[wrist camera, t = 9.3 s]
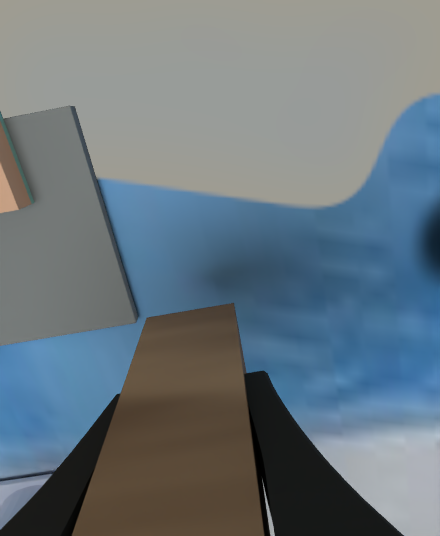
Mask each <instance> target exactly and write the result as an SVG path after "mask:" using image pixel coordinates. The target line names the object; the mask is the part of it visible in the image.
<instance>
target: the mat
mask: <svg viewBox="0 0 440 536" xmlns="http://www.w3.org/2000/svg"><path fill="white" fill-rule="evenodd" d="M3 120H4V122H5V125H6V128H7V130H8V133H9V136H10V138H11V141H12V144H13V146H14V149H15V152H16V154H17V157H18V160H19V162H20V165H21V168H22V170H23V173H24V176H25V178H26V181H27V184H28V186H29V189H30V192H31V194H32V197H33V200H34V202H35V203H33V204H31V205H28V206H26V207H24V208H22V209H19V210H14V211H9V212H3V213H0V346H2V345H8V344H14V343H19V342H25V341H31V340H37V339H43V338H49V337H55V336H61V335H67V334H73V333H79V332H85V331H91V330H97V329H103V328H109V327H115V326H121V325H127V324H133V323H136V322H137V319H138V315H137V312H136V309H135V305H134V302H133V299H132V295H131V292H130V289H129V285H128V282H127V279H126V275H125V272H124V269H123V265H122V262H121V259H120V255H119V252H118V249H117V245H116V242H115V239H114V235H113V232H112V229H111V226H110V222H109V219H108V216H107V212H106V209H105V206H104V202H103V199H102V196H101V192H100V189H99V186H98V182H97V179H96V176H95V172H94V169H93V166H92V163H91V159H90V156H89V153H88V149H87V146H86V143H85V139H84V136H83V133H82V129H81V126H80V123H79V119H78V116H77V113H76V109H75V107H74V106H66V107H61V108H56V109H52V110H46V111H41V112H35V113H30V114H25V115H20V116H15V117H10V118H5V119H3Z"/></svg>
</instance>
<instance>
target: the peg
mask: <svg viewBox="0 0 440 536" xmlns="http://www.w3.org/2000/svg"><path fill="white" fill-rule="evenodd" d="M244 374H246V368H245V362H244V357H243V351H242V346H241V340H240V335H239V329H238V324H237V318H236V313H235V307H234V303H231V304H225V305H219V306H213V307H207V308H201V309H195V310H190V311H184V312H178V313H172V314H166V315H160V316H154V317H148V318H147V319H146V322H145V324H144V327H143V330H142V333H141V336H140V339H139V342H138V345H137V348H136V351H135V354H134V356H133V359H132V362H131V365H130V368H129V371H128V374H127V377H126V380H125V383H124V385H123V388H122V391H121V394H120V397H119V400H118V403H117V406H116V409H115V412H114V414H113V417H112V420H111V423H110V426H109V429H108V432H107V435H106V438H105V441H104V444H103V446H102V449H101V452H100V455H99V458H98V461H97V464H96V467H95V470H94V473H93V475H92V478H91V481H90V484H89V487H88V490H87V493H86V496H85V499H84V502H83V504H82V507H81V510H80V513H79V516H78V519H77V522H76V525H75V528H74V531H73V534H72V536H270V530H269V523H268V516H267V509H266V503H265V496H264V489H263V482H262V476H261V470H260V465H259V460H258V455H257V449H256V444H255V439H254V433H253V428H252V423H251V417H250V412H249V407H248V401H247V394H246V386H245V377H244Z"/></svg>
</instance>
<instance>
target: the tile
mask: <svg viewBox="0 0 440 536" xmlns="http://www.w3.org/2000/svg"><path fill="white" fill-rule="evenodd" d="M33 203H35V202H34V200H33V197H32V194H31V192H30V189H29V186H28V184H27V181H26V178H25V176H24V173H23V170H22V168H21V165H20V162H19V160H18V157H17V154H16V152H15V149H14V146H13V144H12V141H11V138H10V136H9V133H8V130H7V128H6V125H5V122H4V120H3V117H2V114H1V112H0V213H3V212H9V211H14V210H19V209H22V208H24V207H26V206H28V205H31V204H33Z"/></svg>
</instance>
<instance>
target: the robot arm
mask: <svg viewBox="0 0 440 536" xmlns="http://www.w3.org/2000/svg"><path fill="white" fill-rule="evenodd" d="M244 377H245V386H246V394H247V401H248V407H249V412H250V417H251V423H252V428H253V433H254V439H255V444H256V449H257V455H258V460H259V465H260V470H261V476H262V480H263V484H264V488H265V492H266V497H267V501H268V505H269V509H270V513H271V517H272V522H273V526H274V532H275V536H404V535H402V534H401V533H400V532H399V531H398V530H397V529H396V528H395V527H394V526H393V525H391V524H390V523H389V522H388V521H387V520H386V519H385V518H384V517H383V516H382V515H381V514H379V513H378V512H377V511H376V510H375V509H374V508H373V507H372V506H371V505H370V504H369V503H367V502H366V501H365V500H364V499H363V498H362V497H361V496H360V495H359V494H358V493H357V492H356V491H355V490H354V489H353V488H352V487H351V486H350V485H349V484H348V483H347V482H346V481H345V480H344V479H343V478H342V476H341V475H340V474H339V473H338V472H337V471H336V470H335V469H334V468H333V467H332V466H331V465H330V463H329V462H328V461H327V460H326V459H325V458H324V457H323V455H322V454H321V453H320V452H319V451H318V450H317V448H316V447H315V446H314V445H313V443H312V442H311V441H310V440H309V438H308V437H307V436H306V435H305V433H304V432H303V431H302V429H301V428H300V427H299V425H298V424H297V423H296V421H295V420H294V418H293V417H292V415H291V414H290V413H289V411H288V410H287V408H286V407H285V405H284V404H283V402H282V400H281V399H280V397H279V395H278V394H277V392H276V390H275V389H274V387H273V385H272V383H271V380H270V378H269V376H268V373H266V372H265V371H259V372H252V373H246V374H244ZM119 397H120V394H117V395H116V396H115V397H114V398H113V400H112V401H111V402H110V403H109V405H108V406H107V407H106V409H105V410H104V411H103V412H102V414H101V415H100V416H99V418H98V419H97V420H96V422H95V423H94V424H93V425H92V427H91V428H90V429H89V431H88V432H87V433H86V434H85V436H84V437H83V438H82V439H81V441H80V442H79V443H78V444H77V446H76V447H75V448H74V449H73V451H72V452H71V453H70V454H69V456H68V457H67V458H66V459H65V460H64V461H63V463H62V464H61V465H60V466H59V467H58V468H57V470H56V471H55V472H54V473H53V474H47V475H40V476H34V477H27V478H21V479H14V480H7V481H1V482H0V536H72V534H73V531H74V528H75V525H76V522H77V519H78V516H79V513H80V510H81V507H82V504H83V502H84V499H85V496H86V493H87V490H88V487H89V484H90V481H91V478H92V475H93V473H94V470H95V467H96V464H97V461H98V458H99V455H100V452H101V449H102V446H103V444H104V441H105V438H106V435H107V432H108V429H109V426H110V423H111V420H112V417H113V414H114V412H115V409H116V406H117V403H118V400H119Z"/></svg>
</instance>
